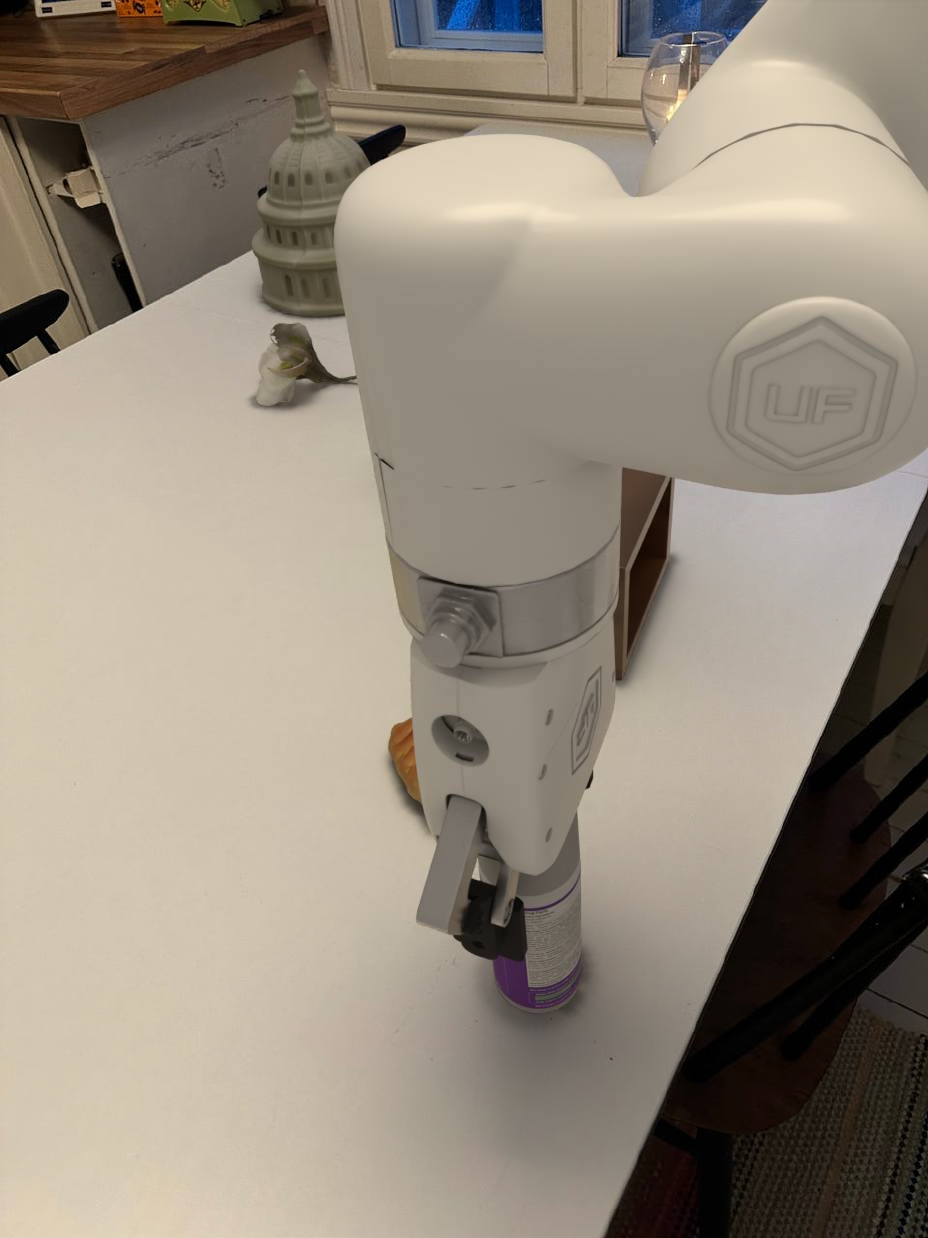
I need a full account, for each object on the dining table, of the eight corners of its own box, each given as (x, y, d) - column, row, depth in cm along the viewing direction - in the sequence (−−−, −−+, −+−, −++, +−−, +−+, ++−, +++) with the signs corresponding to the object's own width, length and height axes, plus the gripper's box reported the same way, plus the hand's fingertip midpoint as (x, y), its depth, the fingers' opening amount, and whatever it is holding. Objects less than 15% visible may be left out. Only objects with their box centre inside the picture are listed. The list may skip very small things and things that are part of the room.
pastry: (365, 766, 61) (356, 727, 58) (442, 711, 64) (436, 671, 61) (461, 852, 55) (455, 812, 53) (540, 786, 58) (538, 746, 56)
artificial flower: (455, 419, 96) (426, 344, 88) (262, 432, 103) (220, 364, 95) (469, 359, 100) (443, 282, 92) (284, 375, 107) (245, 306, 99)
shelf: (669, 559, 74) (677, 451, 67) (621, 680, 64) (625, 568, 58) (538, 536, 77) (533, 432, 71) (475, 648, 68) (463, 539, 61)
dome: (322, 42, 116) (423, 58, 104) (356, 243, 133) (446, 277, 120) (180, 79, 107) (271, 101, 95) (235, 290, 124) (318, 332, 112)
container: (480, 951, 50) (452, 778, 40) (556, 917, 51) (548, 740, 41) (517, 1029, 47) (497, 861, 37) (598, 990, 48) (600, 817, 38)
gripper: (521, 787, 24) (543, 1070, 35) (678, 438, 35) (656, 737, 47) (272, 719, 26) (368, 1003, 38) (494, 414, 38) (516, 703, 49)
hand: (527, 855), depth 42 cm, fingers open, 8 cm apart
